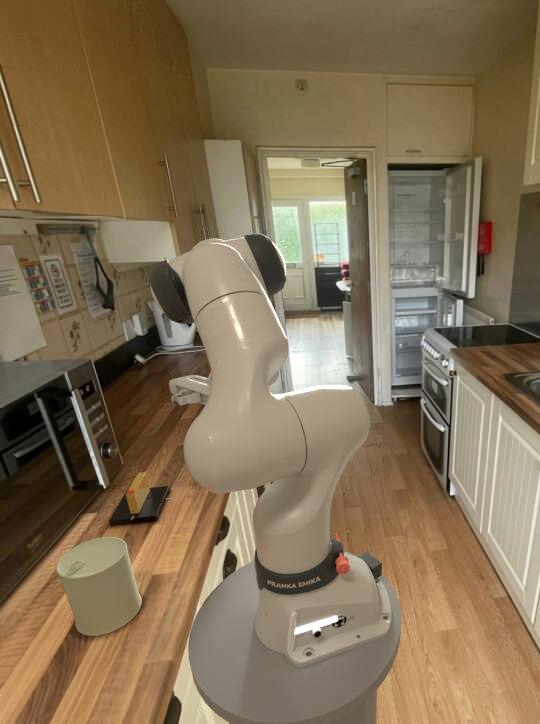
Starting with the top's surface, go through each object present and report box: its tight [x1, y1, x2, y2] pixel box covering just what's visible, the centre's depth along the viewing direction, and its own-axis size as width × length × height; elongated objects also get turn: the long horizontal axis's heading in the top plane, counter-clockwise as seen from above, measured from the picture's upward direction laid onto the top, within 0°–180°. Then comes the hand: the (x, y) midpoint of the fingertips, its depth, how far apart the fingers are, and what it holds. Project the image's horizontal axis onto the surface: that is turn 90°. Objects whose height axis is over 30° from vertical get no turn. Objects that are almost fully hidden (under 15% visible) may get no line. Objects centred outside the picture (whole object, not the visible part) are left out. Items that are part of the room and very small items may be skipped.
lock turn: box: [125, 471, 151, 514], centre depth 94 cm, size 9×2×5 cm, turn 13°
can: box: [55, 536, 143, 637], centre depth 67 cm, size 9×9×12 cm
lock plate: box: [107, 485, 174, 527], centre depth 95 cm, size 13×13×2 cm
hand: (175, 401), depth 98 cm, fingers closed
